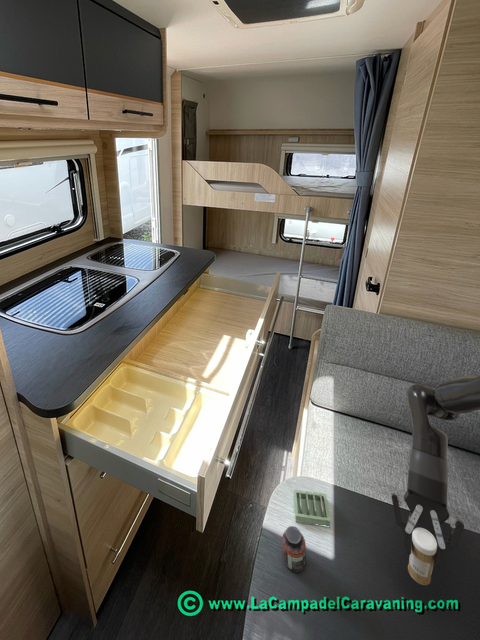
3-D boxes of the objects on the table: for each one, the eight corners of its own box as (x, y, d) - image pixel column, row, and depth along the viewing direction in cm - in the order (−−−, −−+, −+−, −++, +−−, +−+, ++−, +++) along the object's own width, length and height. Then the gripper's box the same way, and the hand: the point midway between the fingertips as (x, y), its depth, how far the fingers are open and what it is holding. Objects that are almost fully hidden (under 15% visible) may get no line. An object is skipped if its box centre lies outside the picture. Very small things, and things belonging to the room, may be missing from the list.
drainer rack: (320, 502, 100) (321, 492, 99) (323, 521, 95) (323, 511, 94) (299, 499, 102) (299, 490, 100) (300, 517, 97) (300, 508, 96)
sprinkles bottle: (435, 578, 75) (442, 542, 70) (422, 591, 73) (429, 555, 69) (414, 557, 79) (420, 522, 74) (402, 569, 77) (407, 533, 73)
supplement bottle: (282, 545, 92) (281, 519, 88) (304, 548, 90) (304, 522, 86) (283, 571, 86) (282, 545, 82) (307, 575, 85) (306, 549, 81)
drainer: (325, 500, 101) (325, 493, 100) (330, 527, 94) (330, 520, 93) (293, 495, 103) (293, 489, 102) (295, 522, 97) (295, 515, 96)
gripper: (392, 462, 78) (385, 546, 73) (469, 491, 70) (468, 587, 65) (392, 459, 83) (385, 536, 78) (463, 485, 76) (461, 573, 71)
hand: (423, 559), depth 72 cm, fingers closed on sprinkles bottle, 4 cm apart
